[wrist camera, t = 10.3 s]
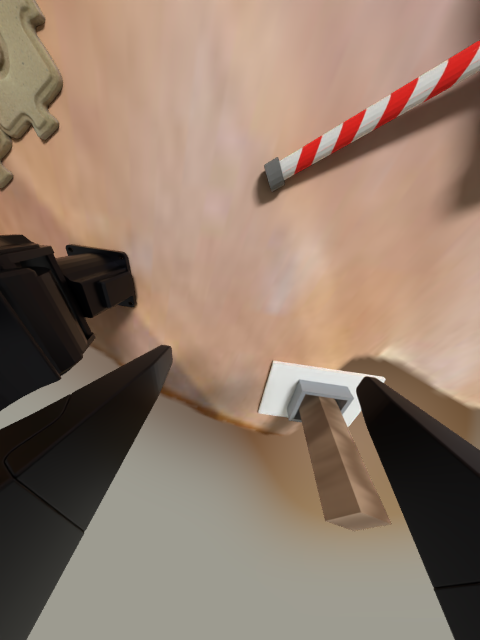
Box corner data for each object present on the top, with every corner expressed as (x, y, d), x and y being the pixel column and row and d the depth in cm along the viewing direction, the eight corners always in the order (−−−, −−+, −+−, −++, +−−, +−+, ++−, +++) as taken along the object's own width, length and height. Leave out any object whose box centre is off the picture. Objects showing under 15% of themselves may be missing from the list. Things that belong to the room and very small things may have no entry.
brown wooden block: (296, 399, 28) (325, 520, 16) (314, 386, 26) (361, 512, 15) (315, 409, 29) (354, 531, 17) (334, 397, 27) (391, 524, 15)
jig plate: (258, 410, 31) (258, 424, 28) (273, 360, 25) (274, 373, 23) (347, 423, 31) (354, 439, 28) (383, 377, 25) (395, 391, 22)
